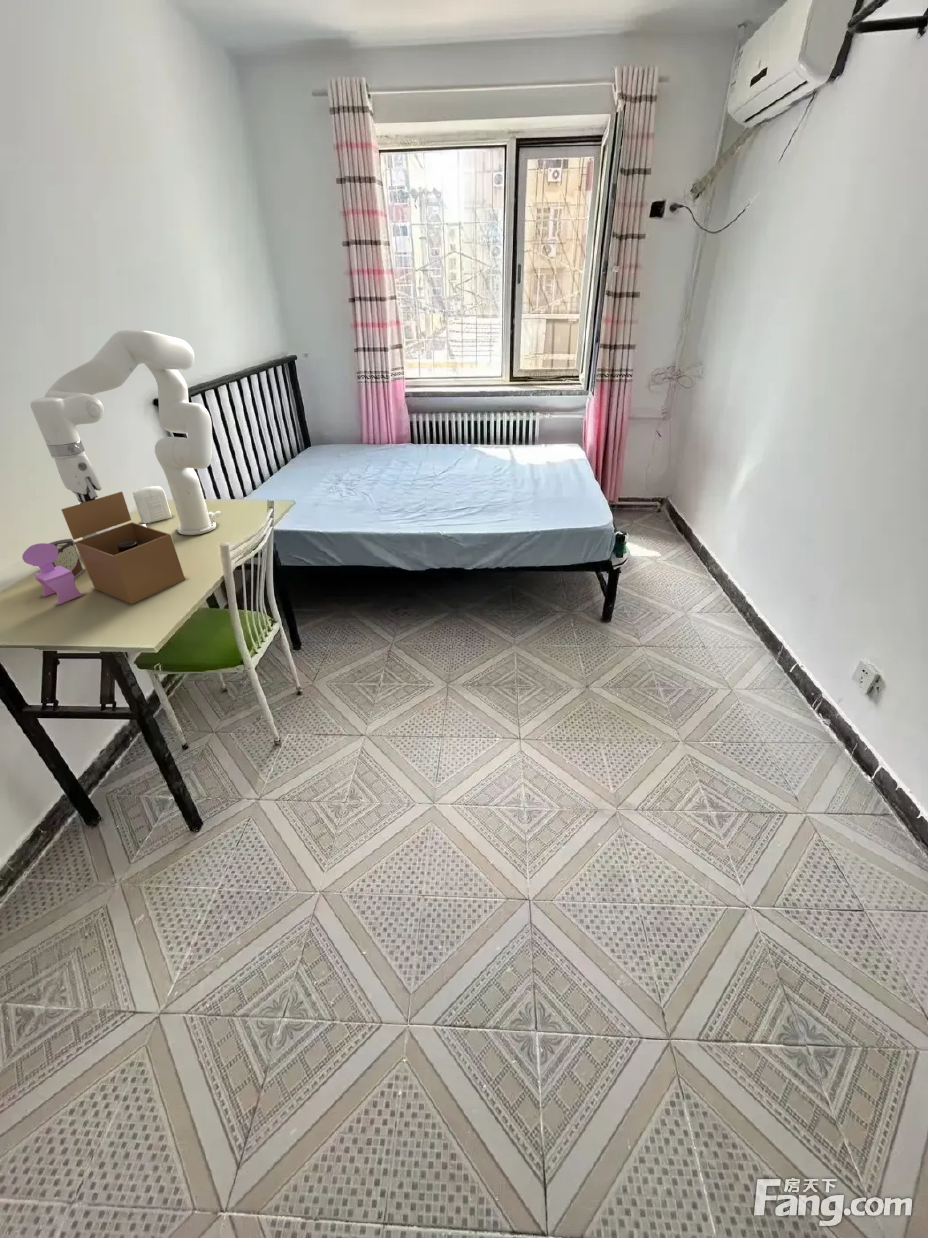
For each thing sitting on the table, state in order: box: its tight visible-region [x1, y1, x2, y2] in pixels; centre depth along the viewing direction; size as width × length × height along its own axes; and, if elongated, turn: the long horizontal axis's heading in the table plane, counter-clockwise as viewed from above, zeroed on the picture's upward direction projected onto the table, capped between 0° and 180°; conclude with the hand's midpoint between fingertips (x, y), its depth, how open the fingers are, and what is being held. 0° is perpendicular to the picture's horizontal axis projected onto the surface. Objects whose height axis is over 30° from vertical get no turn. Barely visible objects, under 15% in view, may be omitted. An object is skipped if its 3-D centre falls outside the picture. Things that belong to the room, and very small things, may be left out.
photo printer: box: [132, 485, 173, 525], centre depth 189 cm, size 10×4×12 cm, turn 134°
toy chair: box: [22, 542, 83, 606], centre depth 141 cm, size 8×9×15 cm
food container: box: [47, 538, 84, 579], centre depth 151 cm, size 12×6×10 cm, turn 5°
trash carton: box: [74, 521, 186, 605], centre depth 147 cm, size 18×16×14 cm
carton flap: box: [61, 491, 132, 541], centre depth 144 cm, size 9×16×1 cm
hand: (93, 515), depth 146 cm, fingers closed
